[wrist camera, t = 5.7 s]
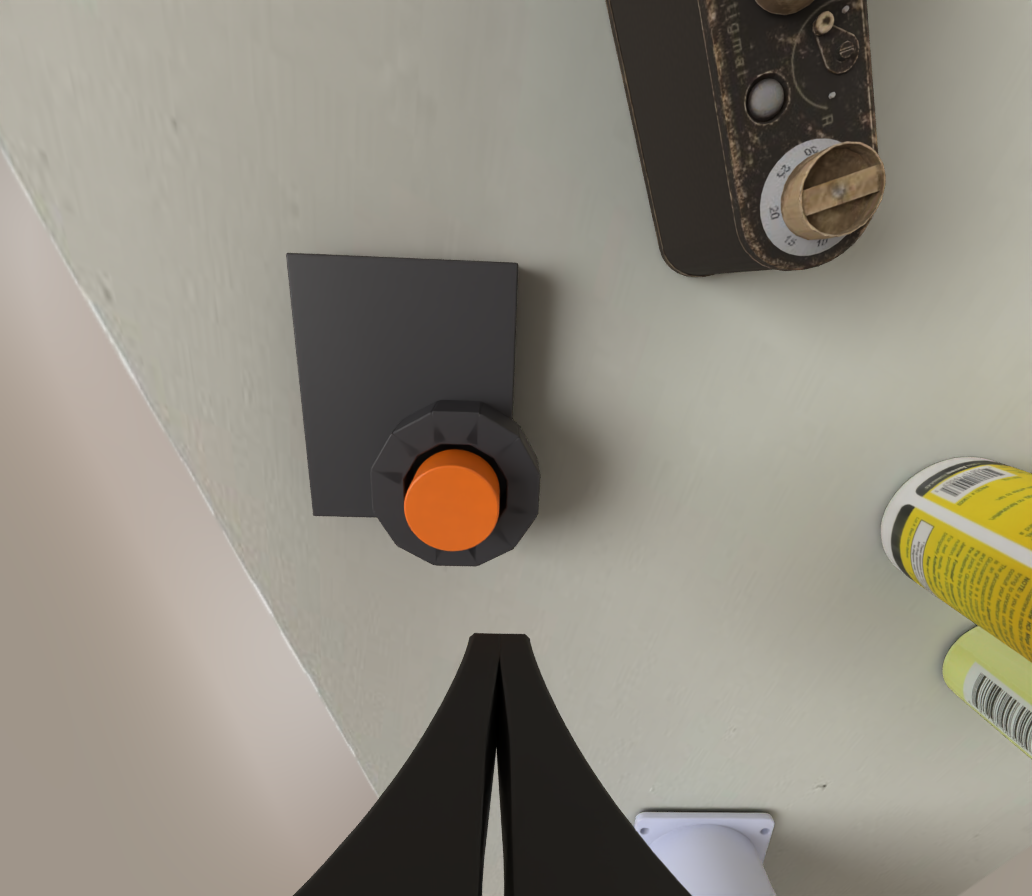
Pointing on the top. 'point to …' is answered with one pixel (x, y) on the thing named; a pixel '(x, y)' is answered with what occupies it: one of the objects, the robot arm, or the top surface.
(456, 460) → the switch button
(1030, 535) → the pill bottle
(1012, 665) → the tube
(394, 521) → the push button switch
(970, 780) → the top surface
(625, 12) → the camera
